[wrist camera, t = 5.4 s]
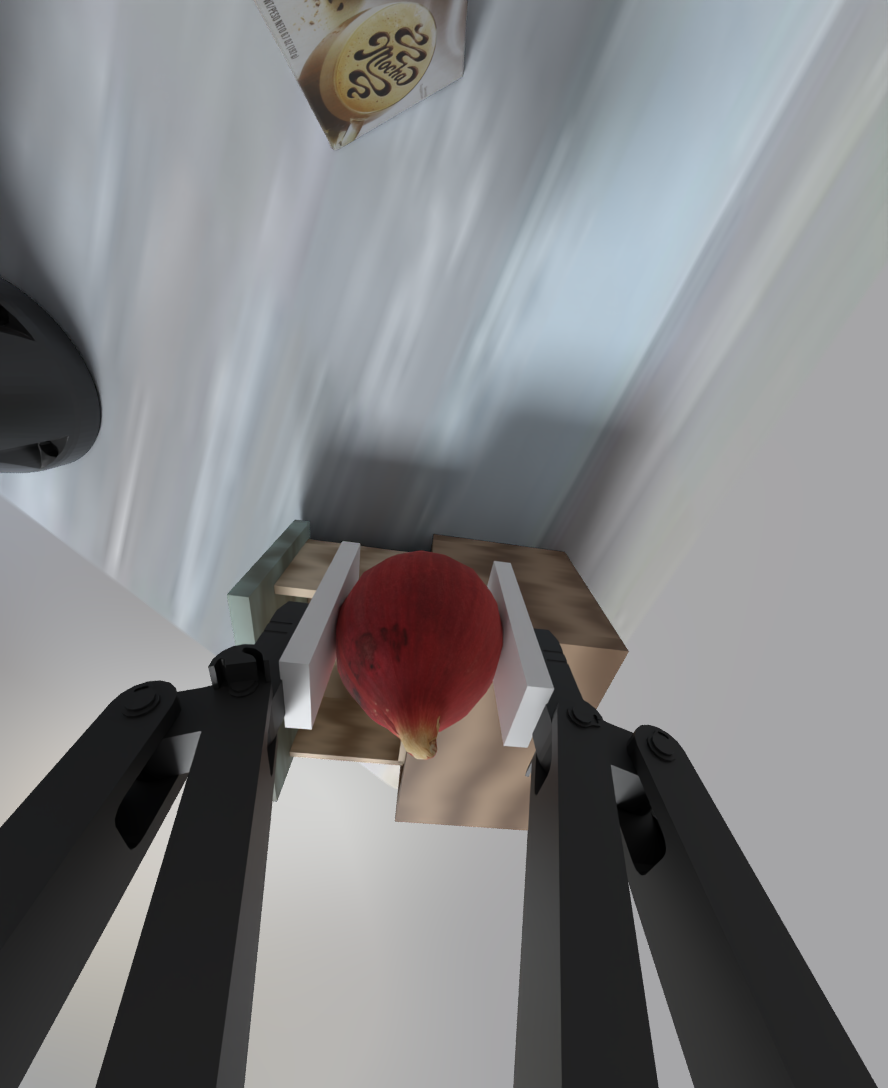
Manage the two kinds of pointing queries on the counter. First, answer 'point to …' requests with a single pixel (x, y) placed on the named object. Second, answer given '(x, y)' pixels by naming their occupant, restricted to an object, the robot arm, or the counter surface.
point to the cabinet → (476, 740)
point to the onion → (418, 645)
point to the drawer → (340, 718)
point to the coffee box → (367, 56)
